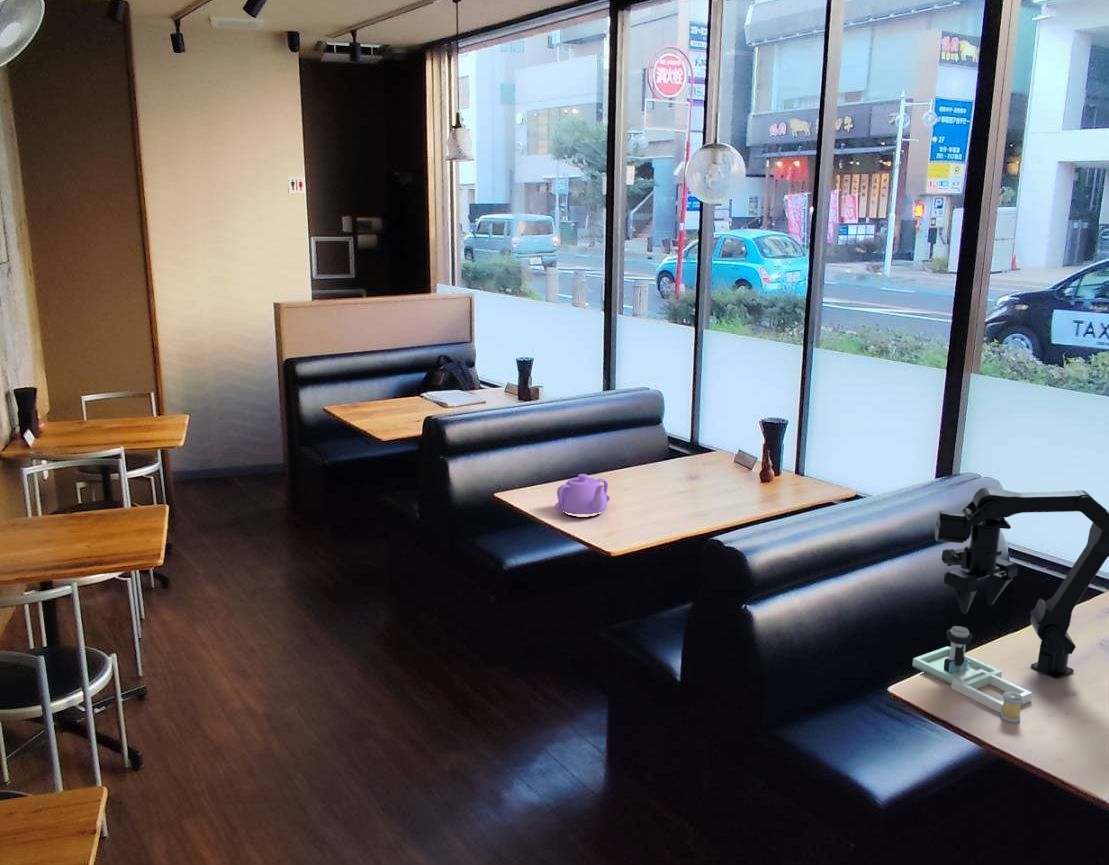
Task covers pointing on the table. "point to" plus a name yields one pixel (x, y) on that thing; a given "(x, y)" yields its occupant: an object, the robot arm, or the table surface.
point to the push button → (957, 649)
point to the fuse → (1011, 707)
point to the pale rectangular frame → (984, 697)
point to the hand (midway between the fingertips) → (976, 608)
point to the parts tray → (935, 667)
